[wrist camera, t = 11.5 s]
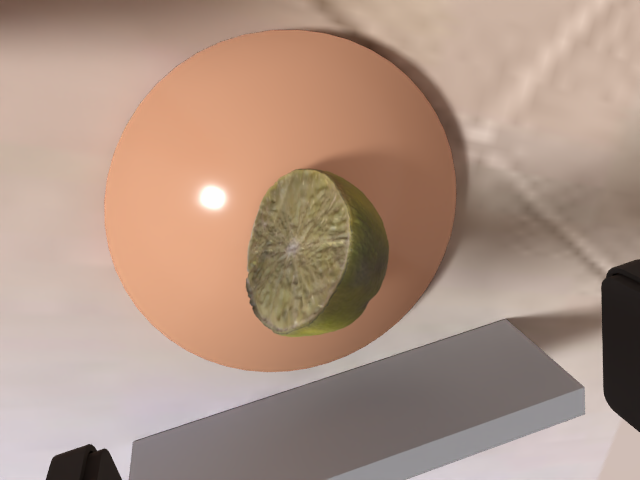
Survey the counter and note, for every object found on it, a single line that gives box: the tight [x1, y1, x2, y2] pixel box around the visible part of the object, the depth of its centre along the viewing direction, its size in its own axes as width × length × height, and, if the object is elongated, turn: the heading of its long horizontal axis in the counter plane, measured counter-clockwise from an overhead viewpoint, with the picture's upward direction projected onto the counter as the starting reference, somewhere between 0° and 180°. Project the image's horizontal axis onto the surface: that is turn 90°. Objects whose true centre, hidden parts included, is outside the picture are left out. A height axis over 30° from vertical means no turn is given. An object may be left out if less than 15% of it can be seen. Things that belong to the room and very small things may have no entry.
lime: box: [246, 168, 389, 337], centre depth 17 cm, size 4×5×5 cm
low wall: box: [129, 319, 585, 480], centre depth 20 cm, size 1×16×5 cm, turn 101°
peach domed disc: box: [104, 30, 456, 372], centre depth 19 cm, size 12×12×1 cm
